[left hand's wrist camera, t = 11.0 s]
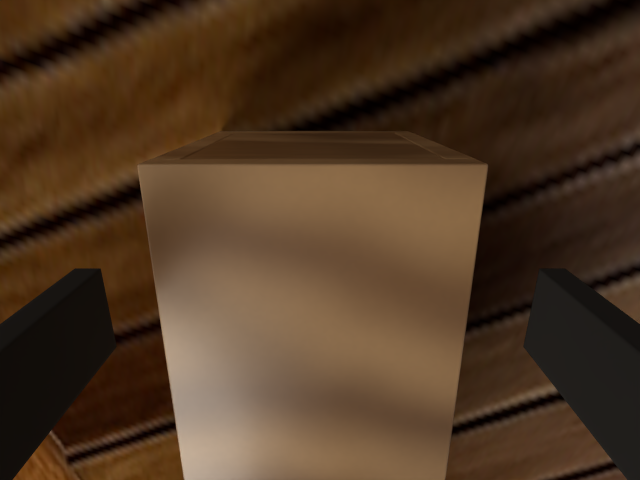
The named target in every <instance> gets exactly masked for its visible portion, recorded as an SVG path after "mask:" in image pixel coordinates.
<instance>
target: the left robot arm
mask: <svg viewBox="0 0 640 480" xmlns="http://www.w3.org/2000/svg"><path fill="white" fill-rule="evenodd" d="M115 348H116V342H115V337H114V332H113V327H112V322H111V317H110V312H109V307H108V303H107V298H106V293H105V288H104V283H103V278H102V273H101V269H74V270H72V271H71V272H70V273H68V274H67V275H66V276H64V277H63V278H62V279H60V280H59V281H58V282H56V283H55V284H54V285H52V286H51V287H50V288H48V289H47V290H46V291H44V292H43V293H42V294H40V295H39V296H37V297H36V298H35V299H33V300H32V301H31V302H29V303H28V304H27V305H25V306H24V307H23V308H21V309H20V310H19V311H17V312H16V313H15V314H13V315H12V316H11V317H9V318H8V319H7V320H5V321H4V322H3V323H1V324H0V480H13V478H14V477H15V476H16V475H17V473H18V472H19V471H20V469H21V468H22V467H23V466H24V464H25V463H26V462H27V460H28V459H29V458H30V457H31V455H32V454H33V453H34V452H35V450H36V449H37V448H38V446H39V445H40V444H41V443H42V441H43V440H44V439H45V437H46V436H47V435H48V434H49V432H50V431H51V430H52V428H53V427H54V426H55V425H56V423H57V422H58V421H59V420H60V418H61V417H62V416H63V414H64V413H65V412H66V411H67V409H68V408H69V407H70V405H71V404H72V403H73V402H74V400H75V399H76V398H77V397H78V395H79V394H80V393H81V391H82V390H83V389H84V388H85V386H86V385H87V384H88V382H89V381H90V380H91V379H92V377H93V376H94V375H95V374H96V372H97V371H98V370H99V368H100V367H101V366H102V365H103V363H104V362H105V361H106V359H107V358H108V357H109V356H110V354H111V353H112V352H113V350H114V349H115ZM524 348H525V349H526V350H527V352H528V353H529V354H530V356H531V357H532V358H533V359H534V361H535V362H536V363H537V365H538V366H539V367H540V368H541V370H542V371H543V372H544V374H545V375H546V376H547V377H548V379H549V380H550V381H551V382H552V384H553V385H554V386H555V388H556V389H557V390H558V391H559V393H560V394H561V395H562V397H563V398H564V399H565V400H566V402H567V403H568V404H569V405H570V407H571V408H572V409H573V411H574V412H575V413H576V414H577V416H578V417H579V418H580V420H581V421H582V422H583V423H584V425H585V426H586V427H587V428H588V430H589V431H590V432H591V434H592V435H593V436H594V437H595V439H596V440H597V441H598V443H599V444H600V445H601V446H602V448H603V449H604V450H605V452H606V453H607V454H608V455H609V457H610V458H611V459H612V460H613V462H614V463H615V464H616V466H617V467H618V468H619V469H620V471H621V472H622V473H623V475H624V476H625V477H626V478H627V480H640V324H639V323H637V322H636V321H635V320H633V319H632V318H631V317H629V316H628V315H627V314H625V313H624V312H623V311H621V310H620V309H619V308H617V307H616V306H615V305H613V304H612V303H611V302H609V301H608V300H607V299H605V298H604V297H603V296H601V295H600V294H598V293H597V292H596V291H594V290H593V289H592V288H590V287H589V286H588V285H586V284H585V283H584V282H582V281H581V280H580V279H578V278H577V277H576V276H574V275H573V274H572V273H570V272H569V271H568V270H566V269H539V273H538V278H537V283H536V288H535V293H534V298H533V303H532V307H531V312H530V317H529V322H528V327H527V332H526V337H525V342H524Z"/></svg>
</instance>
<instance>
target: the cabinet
mask: <svg viewBox="0 0 640 480" xmlns="http://www.w3.org/2000/svg"><path fill="white" fill-rule="evenodd" d="M487 171H488V164H486V163H484V162H482V161H479V160H477V159H475V158H472V157H470V156H467V155H465V154H463V153H460V152H458V151H455V150H453V149H451V148H448V147H446V146H443V145H441V144H438V143H436V142H434V141H431V140H429V139H426V138H424V137H422V136H419V135H417V134H414V133H412V132H409V131H220V132H218V133H215V134H213V135H210V136H208V137H205V138H203V139H200V140H198V141H196V142H193V143H191V144H188V145H186V146H183V147H181V148H178V149H176V150H173V151H171V152H168V153H166V154H163V155H161V156H158V157H156V158H153V159H150V160H148V161H145V162H143V163H140V164H138V173H139V180H140V187H141V193H142V200H143V207H144V214H145V220H146V227H147V234H148V240H149V247H150V254H151V261H152V267H153V274H154V281H155V288H156V294H157V301H158V308H159V315H160V321H161V328H162V335H163V341H164V348H165V355H166V362H167V368H168V375H169V382H170V389H171V395H172V402H173V409H174V416H175V422H176V429H177V436H178V443H179V449H180V456H181V463H182V469H183V476H184V480H445V477H446V470H447V463H448V455H449V448H450V441H451V434H452V426H453V419H454V412H455V404H456V397H457V390H458V383H459V375H460V368H461V361H462V353H463V346H464V339H465V332H466V324H467V317H468V310H469V302H470V295H471V288H472V281H473V273H474V266H475V259H476V251H477V244H478V237H479V230H480V222H481V215H482V208H483V200H484V193H485V186H486V179H487Z"/></svg>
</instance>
